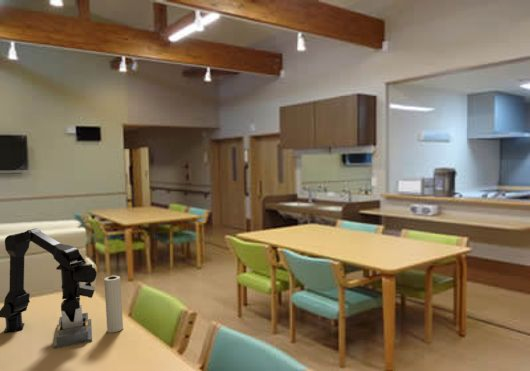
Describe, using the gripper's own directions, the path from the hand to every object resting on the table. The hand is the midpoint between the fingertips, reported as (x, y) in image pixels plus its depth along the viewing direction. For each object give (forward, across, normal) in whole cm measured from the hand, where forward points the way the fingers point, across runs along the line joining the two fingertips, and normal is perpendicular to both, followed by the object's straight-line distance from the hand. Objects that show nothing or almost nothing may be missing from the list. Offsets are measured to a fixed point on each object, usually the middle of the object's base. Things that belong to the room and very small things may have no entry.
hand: (72, 320), depth 158 cm
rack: (+6, +2, 0) cm, 7 cm away
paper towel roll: (+7, 0, -16) cm, 17 cm away
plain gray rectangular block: (+3, 0, 0) cm, 3 cm away
